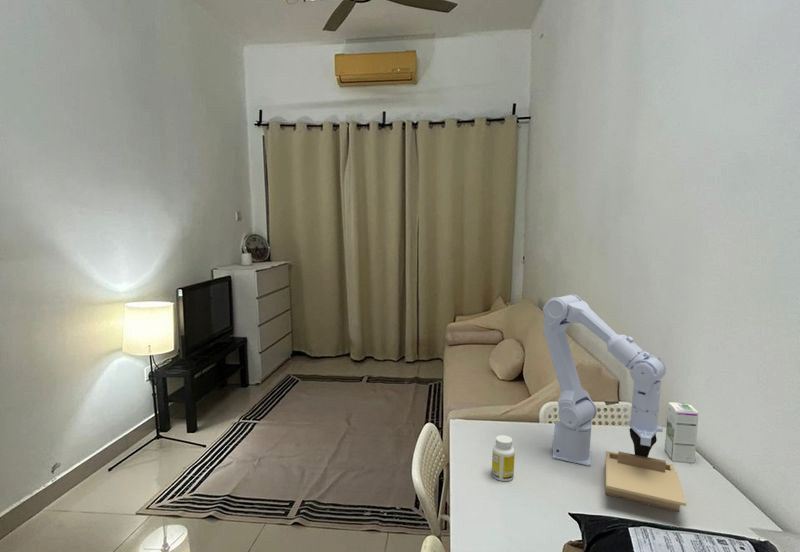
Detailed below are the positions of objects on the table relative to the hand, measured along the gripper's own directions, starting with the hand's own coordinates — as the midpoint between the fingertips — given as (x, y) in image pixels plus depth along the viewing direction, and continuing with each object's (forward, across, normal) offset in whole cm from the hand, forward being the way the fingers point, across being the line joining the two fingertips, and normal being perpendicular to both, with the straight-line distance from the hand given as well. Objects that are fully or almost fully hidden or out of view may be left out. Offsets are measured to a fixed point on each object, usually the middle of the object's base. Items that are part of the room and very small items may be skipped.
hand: (640, 460), depth 110 cm
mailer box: (+6, -2, 0) cm, 6 cm away
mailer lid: (+1, -7, 0) cm, 7 cm away
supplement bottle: (+6, -11, +31) cm, 34 cm away
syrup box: (+6, +19, -11) cm, 23 cm away
